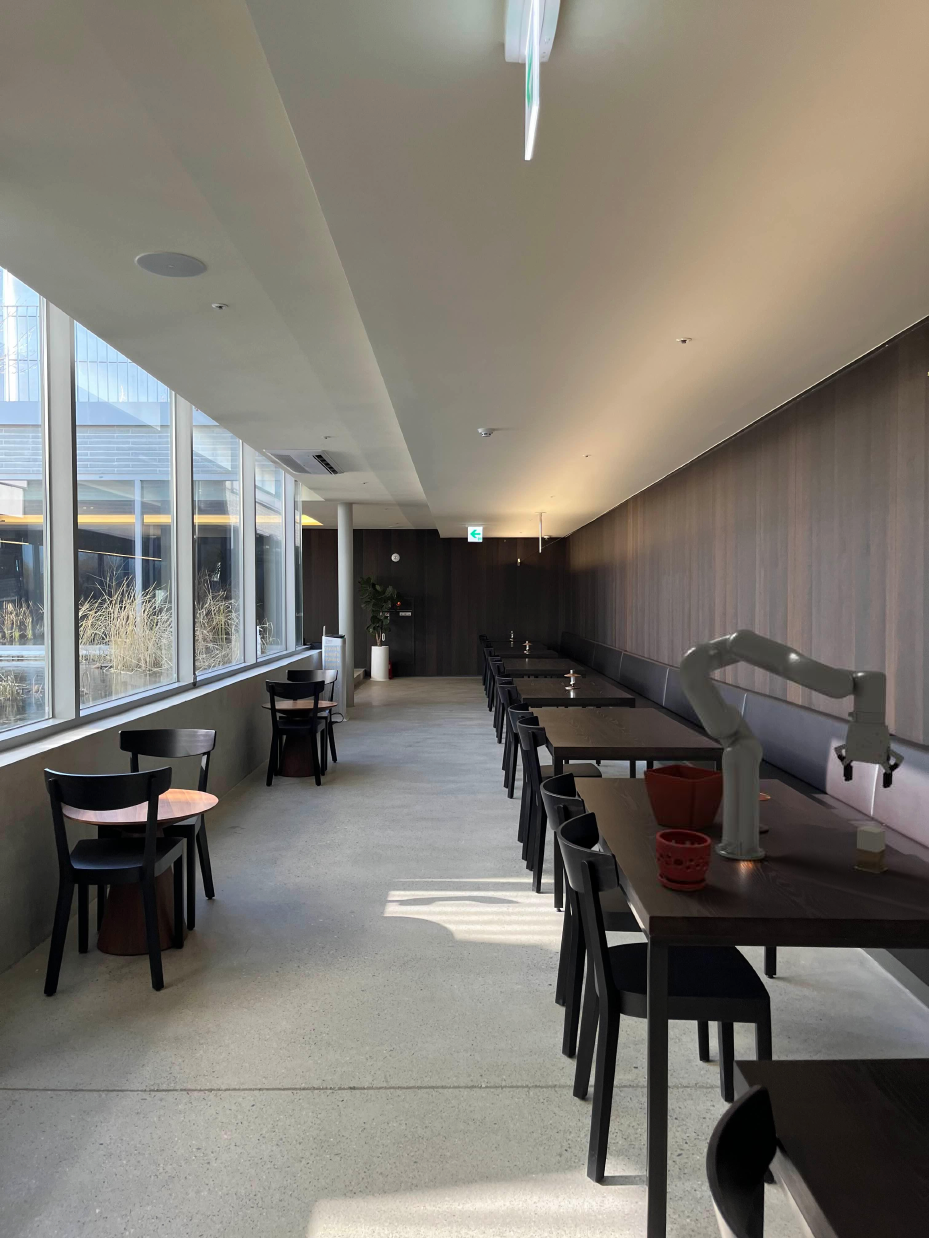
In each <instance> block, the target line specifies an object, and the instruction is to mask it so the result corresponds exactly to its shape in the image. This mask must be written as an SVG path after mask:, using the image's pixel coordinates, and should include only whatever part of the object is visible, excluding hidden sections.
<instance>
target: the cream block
mask: <svg viewBox="0 0 929 1238" xmlns="http://www.w3.org/2000/svg"><path fill="white" fill-rule="evenodd" d="M857 848H859V849H863V850H868V851H872V852H879V851H882V850H884V849H885V850H886V829H884V828H879V827H874V826H869V825H864V826H861V827H859V828H857V829H856V849H857Z"/></svg>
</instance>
